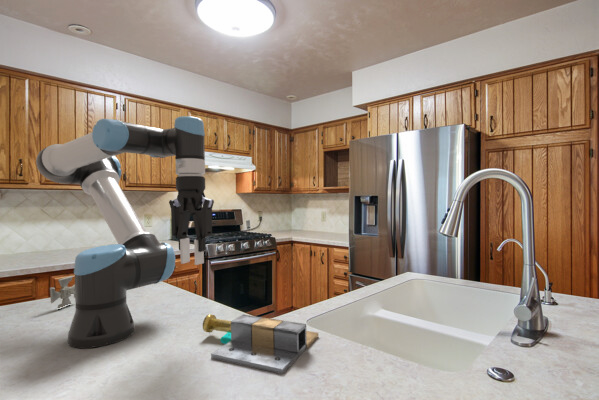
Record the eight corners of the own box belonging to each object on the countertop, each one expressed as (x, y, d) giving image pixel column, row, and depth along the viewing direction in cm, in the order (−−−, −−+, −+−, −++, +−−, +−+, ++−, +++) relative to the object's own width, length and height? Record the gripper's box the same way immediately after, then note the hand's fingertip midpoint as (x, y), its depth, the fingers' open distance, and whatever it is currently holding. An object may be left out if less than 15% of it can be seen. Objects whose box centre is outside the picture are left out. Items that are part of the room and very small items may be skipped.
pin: (202, 334, 87) (202, 317, 87) (213, 328, 91) (213, 312, 91) (271, 347, 79) (270, 328, 79) (279, 340, 83) (279, 322, 83)
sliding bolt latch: (211, 358, 76) (210, 332, 76) (258, 326, 94) (257, 305, 94) (282, 374, 69) (282, 345, 69) (318, 336, 87) (318, 314, 87)
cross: (54, 312, 109) (53, 281, 109) (47, 312, 110) (46, 281, 110) (81, 303, 119) (81, 274, 119) (75, 302, 120) (75, 274, 120)
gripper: (155, 176, 91) (157, 263, 91) (206, 173, 84) (208, 268, 84) (176, 177, 98) (178, 258, 98) (225, 175, 91) (227, 262, 91)
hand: (192, 263), depth 91 cm, fingers open, 4 cm apart
